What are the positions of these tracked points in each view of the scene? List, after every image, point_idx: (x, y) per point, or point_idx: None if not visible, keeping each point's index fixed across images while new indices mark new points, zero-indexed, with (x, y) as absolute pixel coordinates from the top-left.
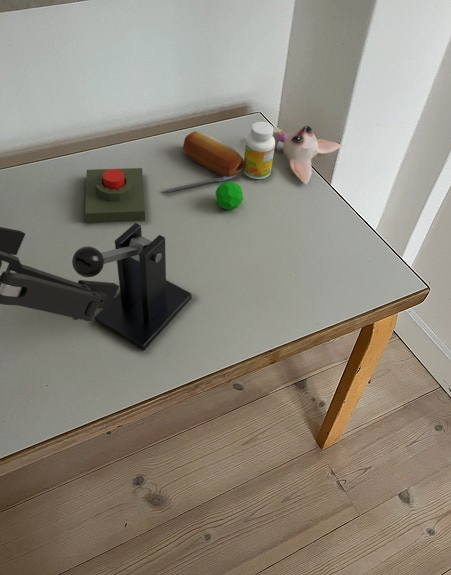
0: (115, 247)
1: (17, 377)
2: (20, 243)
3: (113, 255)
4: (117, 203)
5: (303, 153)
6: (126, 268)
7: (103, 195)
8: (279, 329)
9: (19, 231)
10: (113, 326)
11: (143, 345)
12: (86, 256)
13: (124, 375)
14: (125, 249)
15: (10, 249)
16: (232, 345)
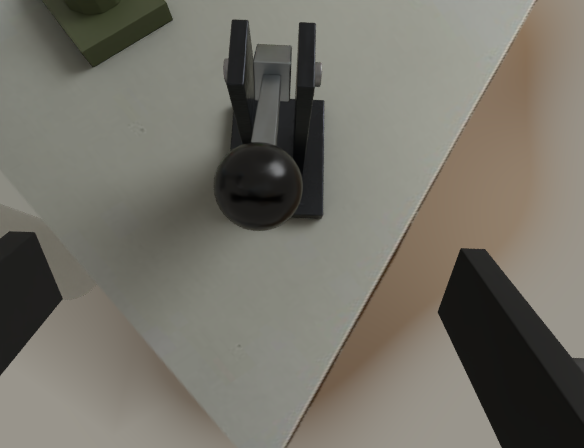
0: (230, 96)
1: (190, 360)
2: (46, 267)
3: (276, 125)
4: (116, 10)
5: None
6: (253, 122)
7: (86, 6)
8: (455, 90)
9: (7, 243)
10: None
11: (322, 214)
12: (268, 186)
13: (324, 268)
14: (270, 93)
15: (31, 314)
16: (419, 145)
